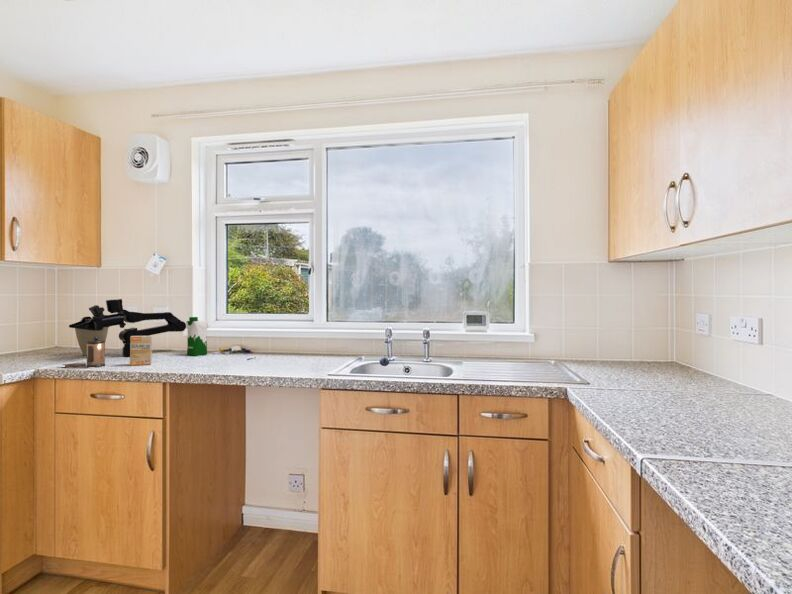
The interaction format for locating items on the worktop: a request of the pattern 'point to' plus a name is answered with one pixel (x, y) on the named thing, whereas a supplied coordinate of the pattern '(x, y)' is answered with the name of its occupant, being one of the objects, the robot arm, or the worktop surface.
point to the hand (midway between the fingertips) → (72, 326)
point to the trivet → (74, 364)
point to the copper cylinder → (95, 353)
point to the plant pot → (89, 337)
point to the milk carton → (197, 337)
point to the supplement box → (140, 350)
